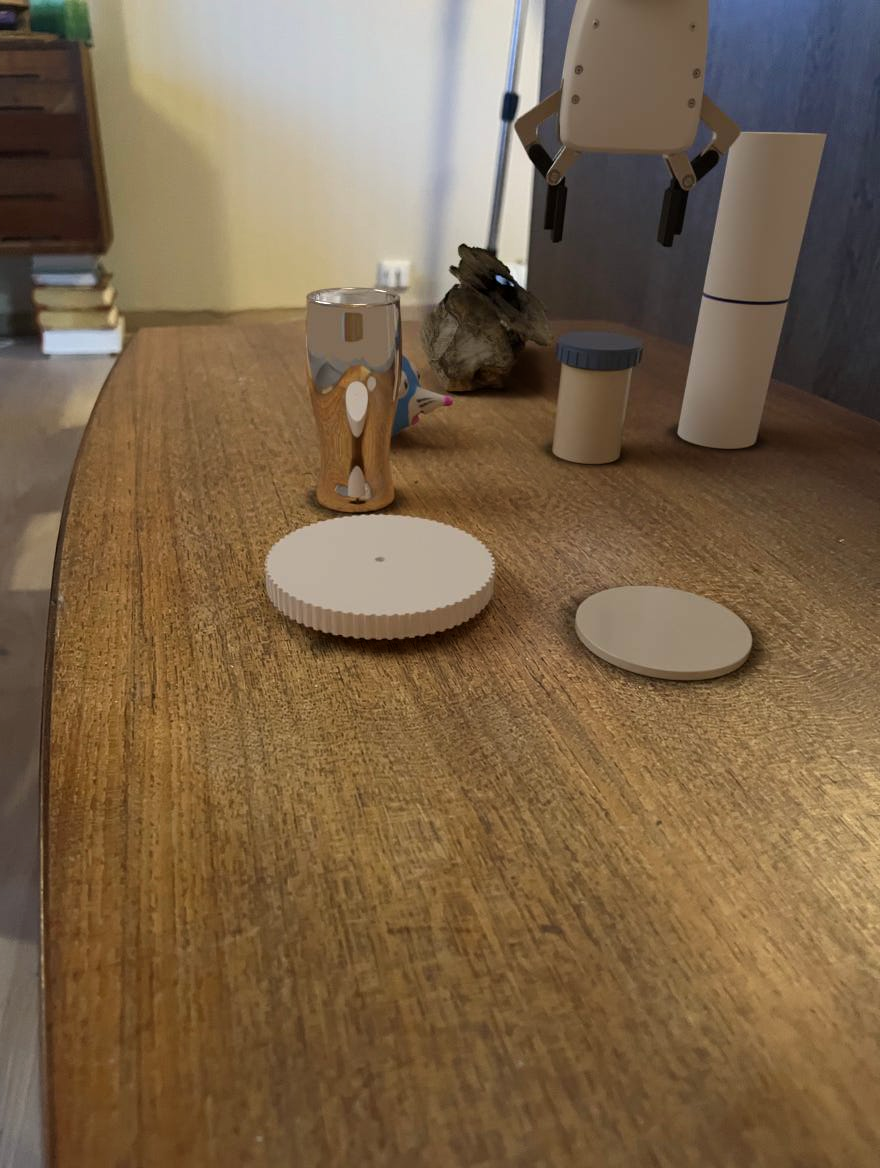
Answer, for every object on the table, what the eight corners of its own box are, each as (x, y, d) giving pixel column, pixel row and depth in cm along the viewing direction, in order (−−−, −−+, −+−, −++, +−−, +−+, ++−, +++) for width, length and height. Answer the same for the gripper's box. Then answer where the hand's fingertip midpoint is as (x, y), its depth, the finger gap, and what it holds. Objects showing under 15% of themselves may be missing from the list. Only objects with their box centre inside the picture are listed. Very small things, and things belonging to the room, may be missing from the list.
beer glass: (416, 492, 70) (421, 293, 62) (369, 522, 65) (369, 308, 57) (343, 475, 73) (339, 283, 65) (293, 503, 68) (282, 297, 60)
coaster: (770, 624, 53) (773, 615, 53) (719, 702, 46) (721, 692, 45) (614, 579, 58) (615, 570, 57) (545, 643, 51) (546, 634, 50)
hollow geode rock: (490, 378, 119) (417, 287, 115) (566, 313, 112) (492, 216, 109) (453, 434, 95) (359, 323, 91) (547, 356, 89) (451, 233, 85)
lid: (652, 358, 76) (656, 338, 75) (620, 374, 71) (623, 354, 70) (577, 346, 79) (579, 327, 78) (541, 361, 74) (543, 341, 73)
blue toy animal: (431, 470, 75) (435, 369, 70) (302, 452, 78) (298, 355, 73) (468, 429, 84) (473, 338, 80) (352, 415, 87) (351, 327, 83)
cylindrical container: (678, 444, 81) (735, 132, 68) (676, 421, 87) (729, 131, 74) (759, 451, 80) (833, 135, 67) (751, 428, 86) (818, 133, 73)
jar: (630, 450, 80) (646, 343, 75) (603, 469, 75) (619, 357, 71) (569, 437, 83) (581, 334, 78) (540, 454, 78) (551, 346, 73)
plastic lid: (301, 540, 62) (300, 506, 61) (500, 558, 60) (503, 523, 59) (236, 641, 50) (232, 602, 49) (481, 667, 48) (484, 627, 47)
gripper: (760, -22, 64) (710, 241, 73) (519, -28, 65) (499, 233, 74) (791, -37, 57) (731, 254, 66) (523, -43, 58) (500, 244, 67)
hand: (609, 241), depth 70 cm, fingers open, 8 cm apart
